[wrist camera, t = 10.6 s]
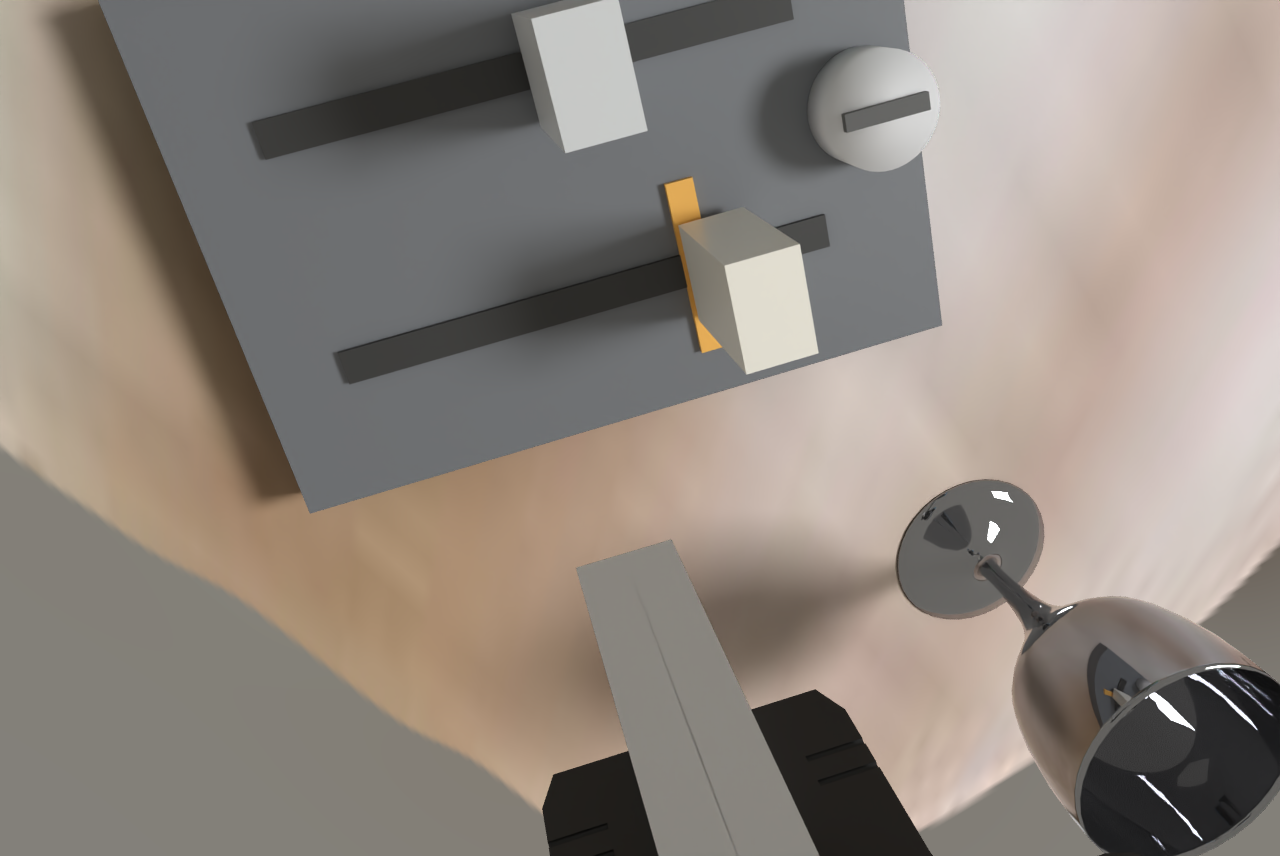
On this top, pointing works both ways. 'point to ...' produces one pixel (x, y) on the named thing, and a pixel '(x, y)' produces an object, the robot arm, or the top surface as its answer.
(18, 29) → the top surface
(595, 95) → the fader
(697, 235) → the fader
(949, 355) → the top surface
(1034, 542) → the wine glass
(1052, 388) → the top surface
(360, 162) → the console
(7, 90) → the top surface
